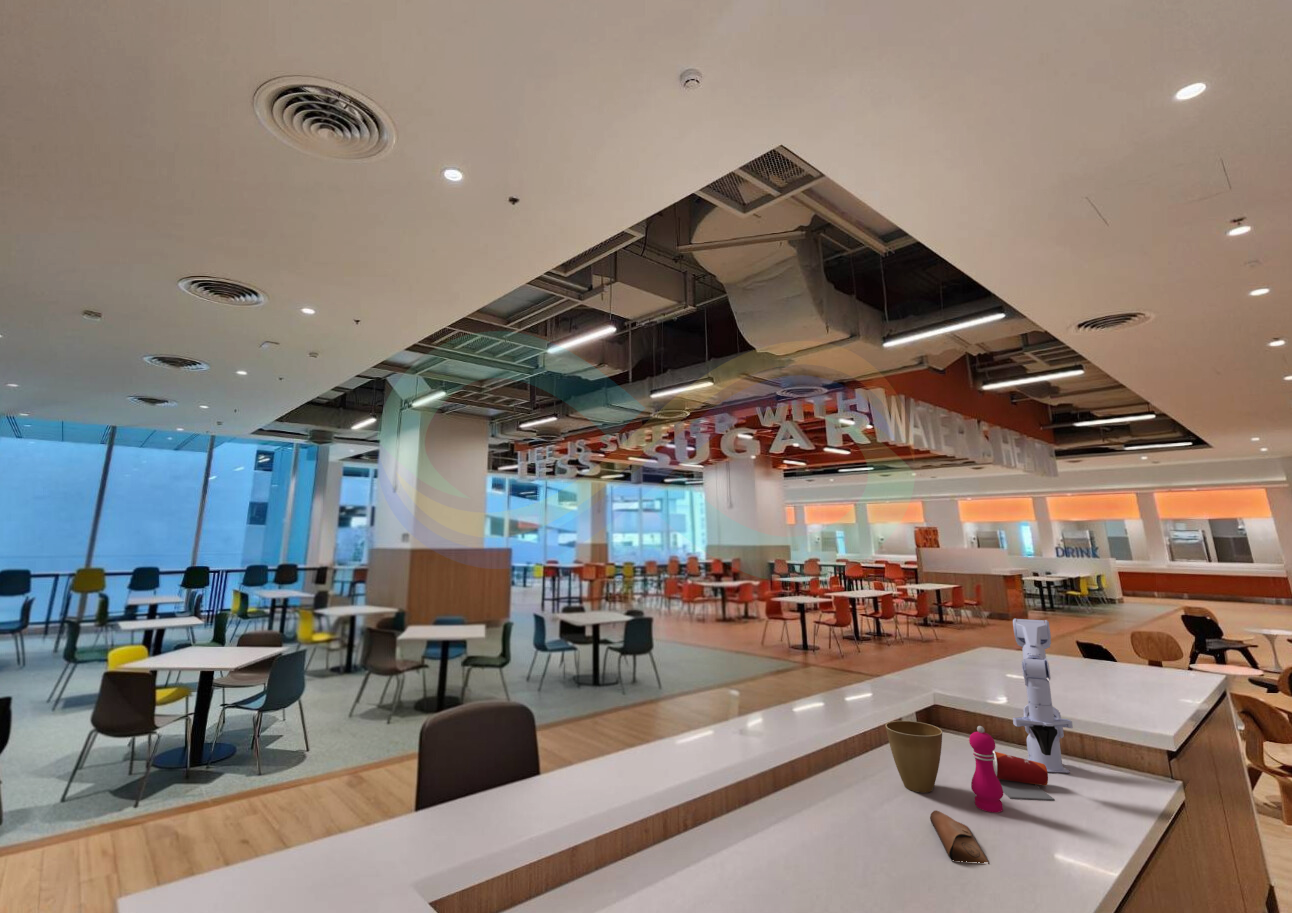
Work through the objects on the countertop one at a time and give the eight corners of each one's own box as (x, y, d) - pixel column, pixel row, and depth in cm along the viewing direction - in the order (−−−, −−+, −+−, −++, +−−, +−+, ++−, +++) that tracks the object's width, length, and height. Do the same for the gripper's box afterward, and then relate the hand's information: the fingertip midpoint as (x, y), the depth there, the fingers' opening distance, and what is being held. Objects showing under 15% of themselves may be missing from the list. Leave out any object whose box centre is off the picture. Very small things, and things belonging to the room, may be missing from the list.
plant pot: (958, 798, 151) (952, 735, 153) (903, 798, 151) (898, 736, 154) (932, 776, 165) (926, 719, 168) (881, 776, 166) (877, 719, 168)
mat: (983, 775, 166) (983, 773, 166) (1023, 776, 164) (1023, 775, 164) (1010, 798, 150) (1010, 797, 150) (1054, 800, 149) (1054, 799, 149)
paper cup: (1044, 754, 159) (988, 744, 163) (1051, 782, 153) (993, 770, 158) (1037, 767, 163) (983, 756, 168) (1044, 795, 158) (987, 783, 162)
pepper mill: (1010, 814, 141) (1000, 731, 145) (979, 812, 143) (970, 729, 146) (998, 802, 148) (989, 722, 152) (969, 800, 150) (961, 721, 153)
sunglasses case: (993, 866, 119) (972, 834, 120) (964, 881, 120) (944, 850, 121) (967, 826, 136) (949, 799, 138) (941, 839, 137) (924, 812, 139)
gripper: (1019, 706, 155) (1025, 758, 153) (1076, 707, 153) (1083, 760, 151) (1007, 699, 162) (1012, 749, 160) (1061, 700, 160) (1068, 751, 158)
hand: (1046, 754), depth 156 cm, fingers closed
